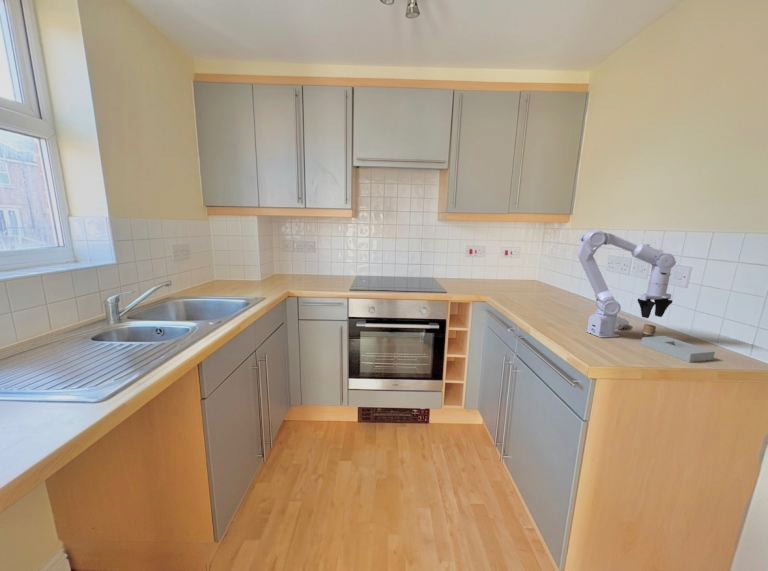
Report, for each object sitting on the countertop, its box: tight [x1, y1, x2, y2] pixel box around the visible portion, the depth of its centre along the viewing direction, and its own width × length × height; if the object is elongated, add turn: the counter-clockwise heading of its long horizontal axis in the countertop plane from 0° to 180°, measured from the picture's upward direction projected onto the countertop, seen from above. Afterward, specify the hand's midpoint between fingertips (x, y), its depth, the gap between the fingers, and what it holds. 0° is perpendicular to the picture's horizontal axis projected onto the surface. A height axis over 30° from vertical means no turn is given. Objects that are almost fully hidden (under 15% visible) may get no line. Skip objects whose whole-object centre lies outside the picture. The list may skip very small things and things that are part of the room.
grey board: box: [640, 335, 716, 363], centre depth 114 cm, size 11×16×3 cm
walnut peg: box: [641, 323, 657, 338], centre depth 126 cm, size 4×4×6 cm
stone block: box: [615, 315, 630, 331], centre depth 144 cm, size 12×5×10 cm
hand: (651, 316), depth 125 cm, fingers open, 7 cm apart
